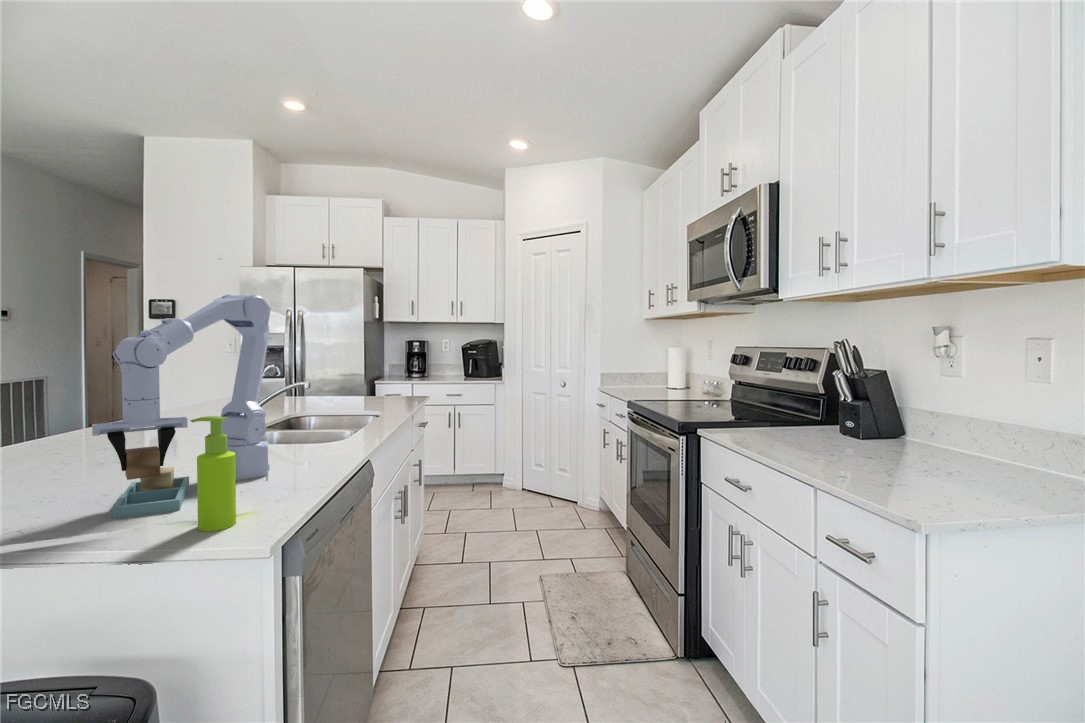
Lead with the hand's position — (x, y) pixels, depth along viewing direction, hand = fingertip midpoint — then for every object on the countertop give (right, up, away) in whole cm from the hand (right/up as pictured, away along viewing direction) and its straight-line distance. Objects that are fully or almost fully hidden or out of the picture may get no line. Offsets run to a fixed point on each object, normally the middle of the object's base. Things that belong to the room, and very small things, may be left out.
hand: (142, 467), depth 99 cm
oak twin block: (-2, -7, +7) cm, 10 cm away
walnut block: (0, -2, 0) cm, 2 cm away
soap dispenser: (+19, -9, -7) cm, 22 cm away
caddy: (0, -8, +3) cm, 9 cm away
